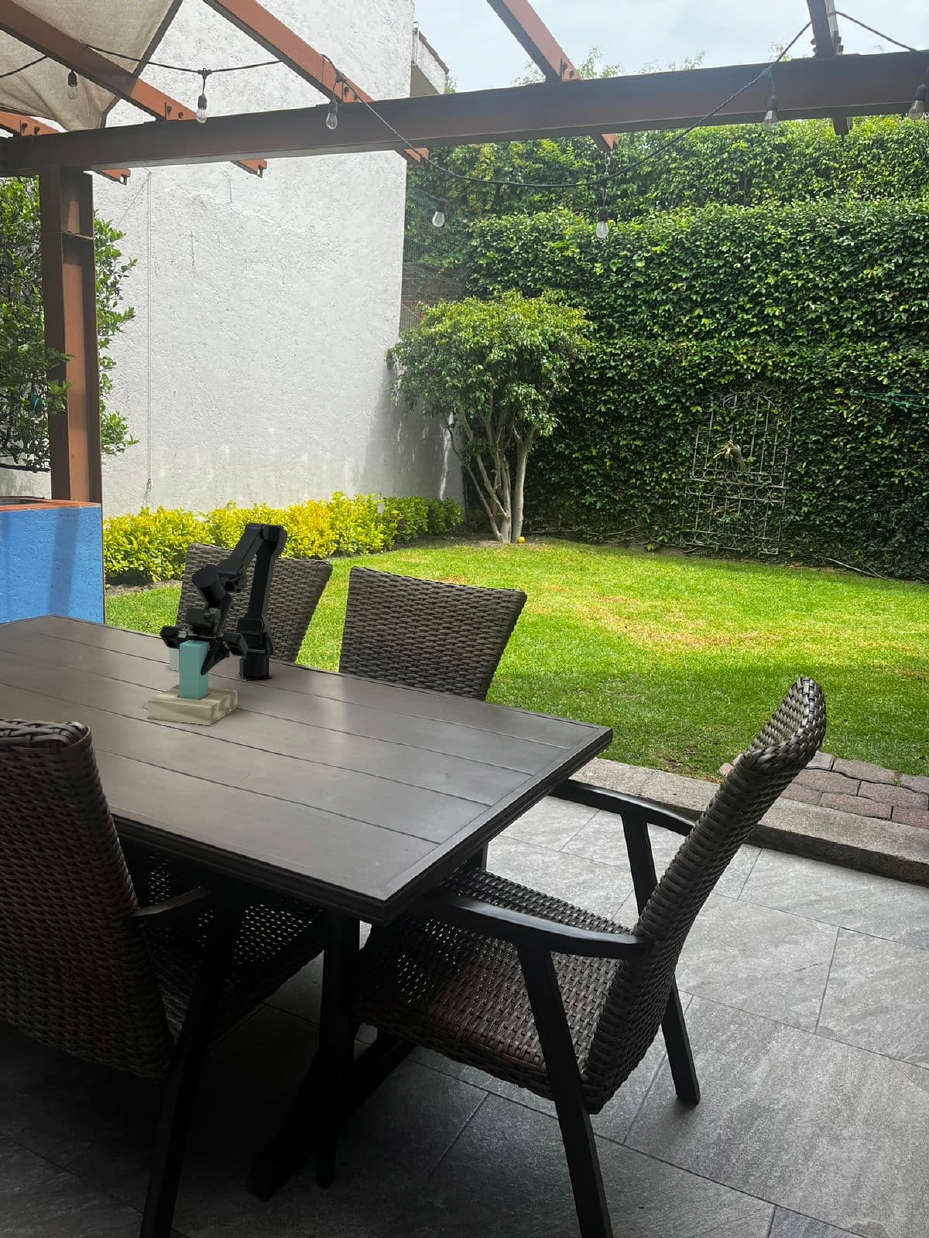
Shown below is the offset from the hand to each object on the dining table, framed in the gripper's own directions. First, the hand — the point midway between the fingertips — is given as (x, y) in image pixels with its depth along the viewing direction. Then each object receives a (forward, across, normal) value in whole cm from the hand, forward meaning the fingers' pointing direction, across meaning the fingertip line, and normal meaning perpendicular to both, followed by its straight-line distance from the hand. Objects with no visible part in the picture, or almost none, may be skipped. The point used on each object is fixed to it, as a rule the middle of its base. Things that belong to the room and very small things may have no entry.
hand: (191, 673), depth 197 cm
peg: (+4, 0, +6) cm, 7 cm away
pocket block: (+6, 0, +8) cm, 9 cm away
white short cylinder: (-17, -20, +31) cm, 41 cm away
